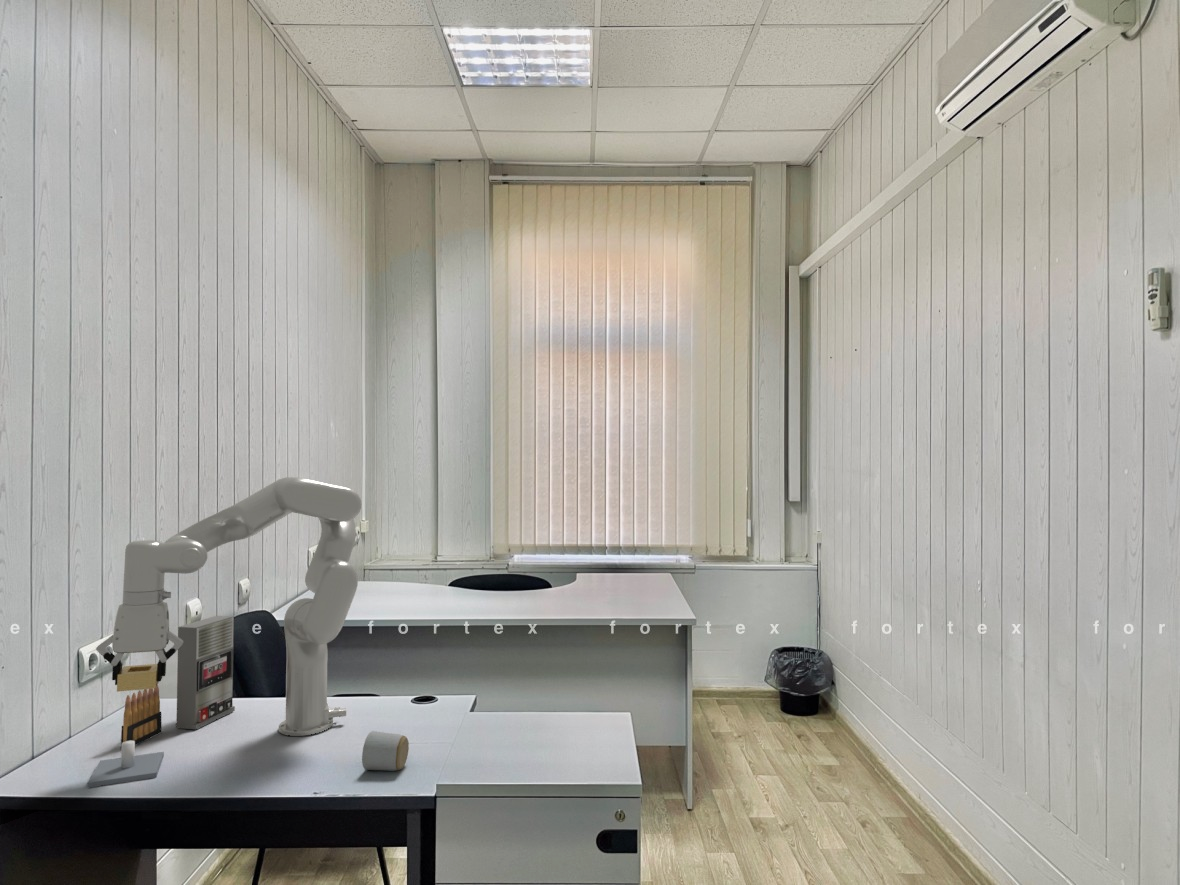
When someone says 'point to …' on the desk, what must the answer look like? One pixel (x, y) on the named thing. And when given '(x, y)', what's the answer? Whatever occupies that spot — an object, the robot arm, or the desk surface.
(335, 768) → the desk surface
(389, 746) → the grey tan-ended cylinder
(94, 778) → the post plate
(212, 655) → the cassette tape recorder
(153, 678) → the collar
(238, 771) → the desk surface
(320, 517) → the robot arm
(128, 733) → the ammunition clip
